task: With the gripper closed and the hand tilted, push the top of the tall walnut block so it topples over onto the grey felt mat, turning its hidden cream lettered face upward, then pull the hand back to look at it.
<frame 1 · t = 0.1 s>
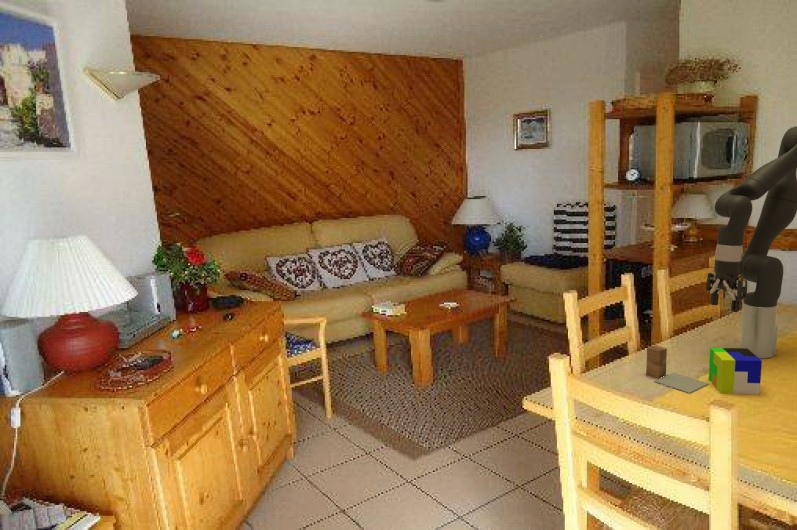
hand: (724, 308, 179), 17 cm above the table, tool pointing down, fingers open, 8 cm apart
felt mat: (680, 383, 166), on the table
walnut block: (656, 375, 172), on the table
puzzle toy: (733, 387, 162), on the table
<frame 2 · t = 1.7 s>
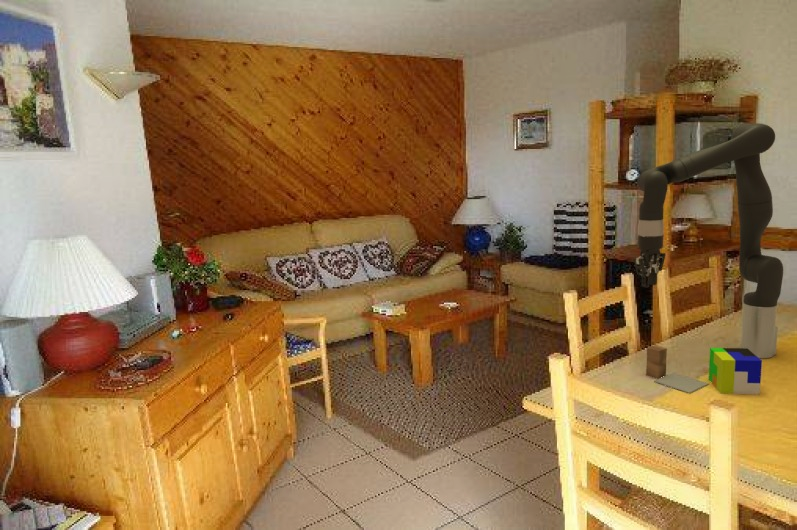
hand: (649, 285, 181), 25 cm above the table, tool pointing down, fingers open, 3 cm apart
nothing on the table moved.
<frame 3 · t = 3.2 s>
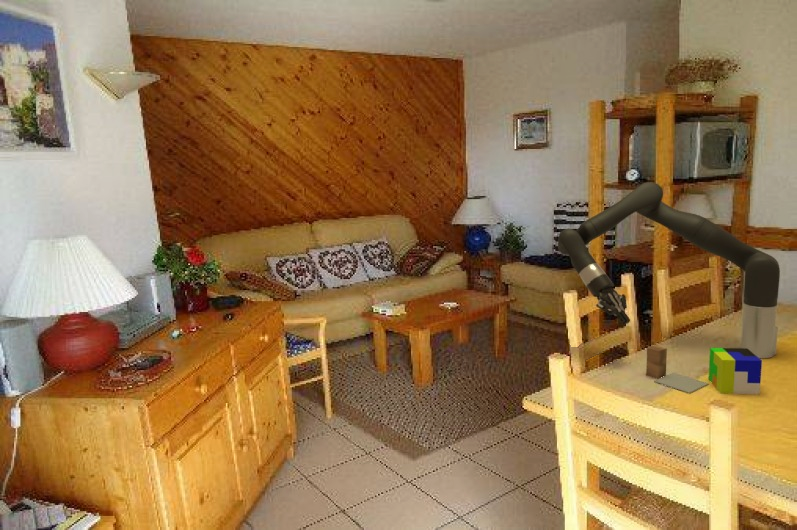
hand: (627, 323, 178), 15 cm above the table, tool tilted 45°, fingers closed
nothing on the table moved.
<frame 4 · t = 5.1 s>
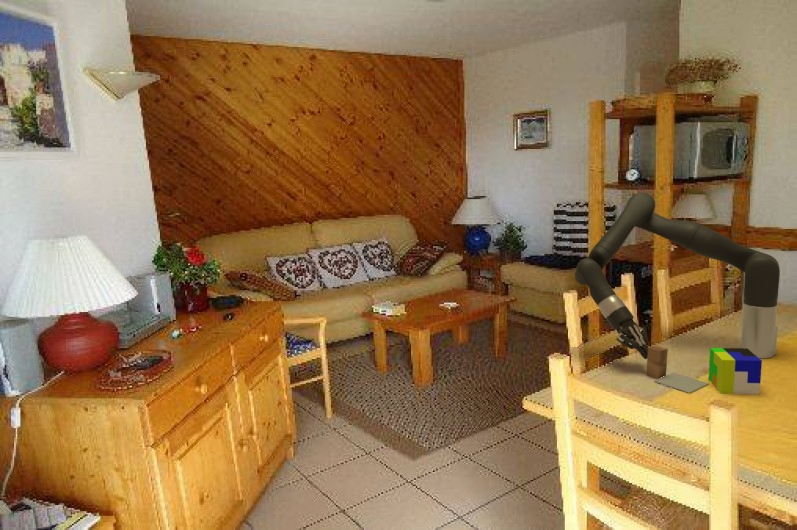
hand: (648, 357, 173), 5 cm above the table, tool tilted 45°, fingers closed
walnut block: (656, 375, 172), on the table, touching gripper
everything else where it was.
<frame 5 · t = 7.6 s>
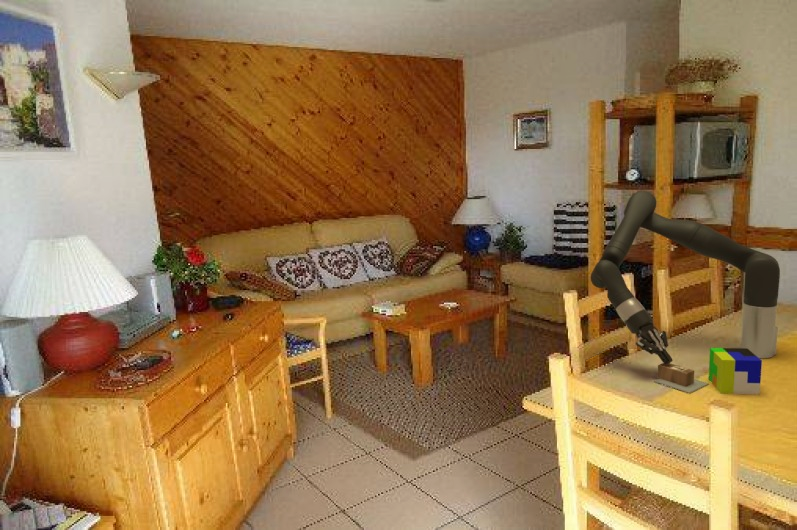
hand: (669, 362, 168), 5 cm above the table, tool tilted 45°, fingers closed
walnut block: (661, 369, 171), point 2 cm above the table, tilted 90°, touching felt mat
everything else where it was.
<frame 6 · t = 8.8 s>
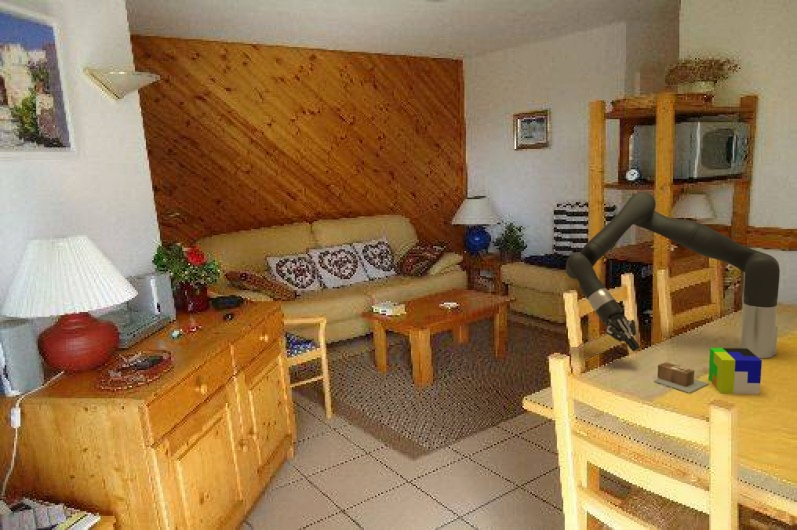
hand: (636, 349, 177), 7 cm above the table, tool tilted 45°, fingers closed
nothing on the table moved.
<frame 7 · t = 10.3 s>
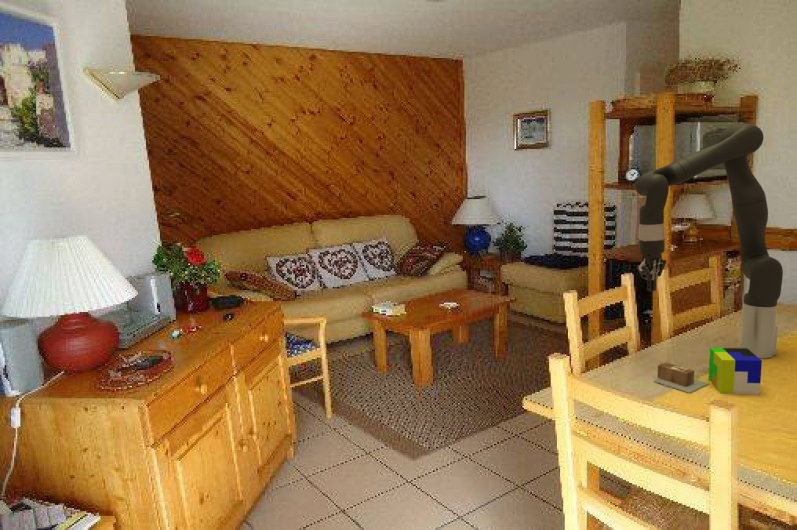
hand: (651, 290, 179), 24 cm above the table, tool pointing down, fingers closed
nothing on the table moved.
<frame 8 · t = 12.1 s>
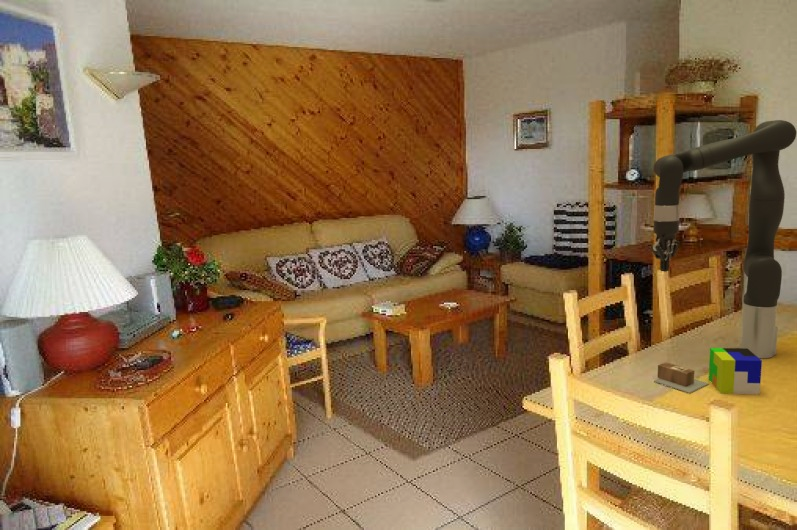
hand: (664, 271, 184), 29 cm above the table, tool pointing down, fingers closed
nothing on the table moved.
at the end: walnut block tilted 90°; walnut block inside the target area (1.8 cm from its centre), point 2.4 cm above the table; walnut block touching felt mat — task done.
